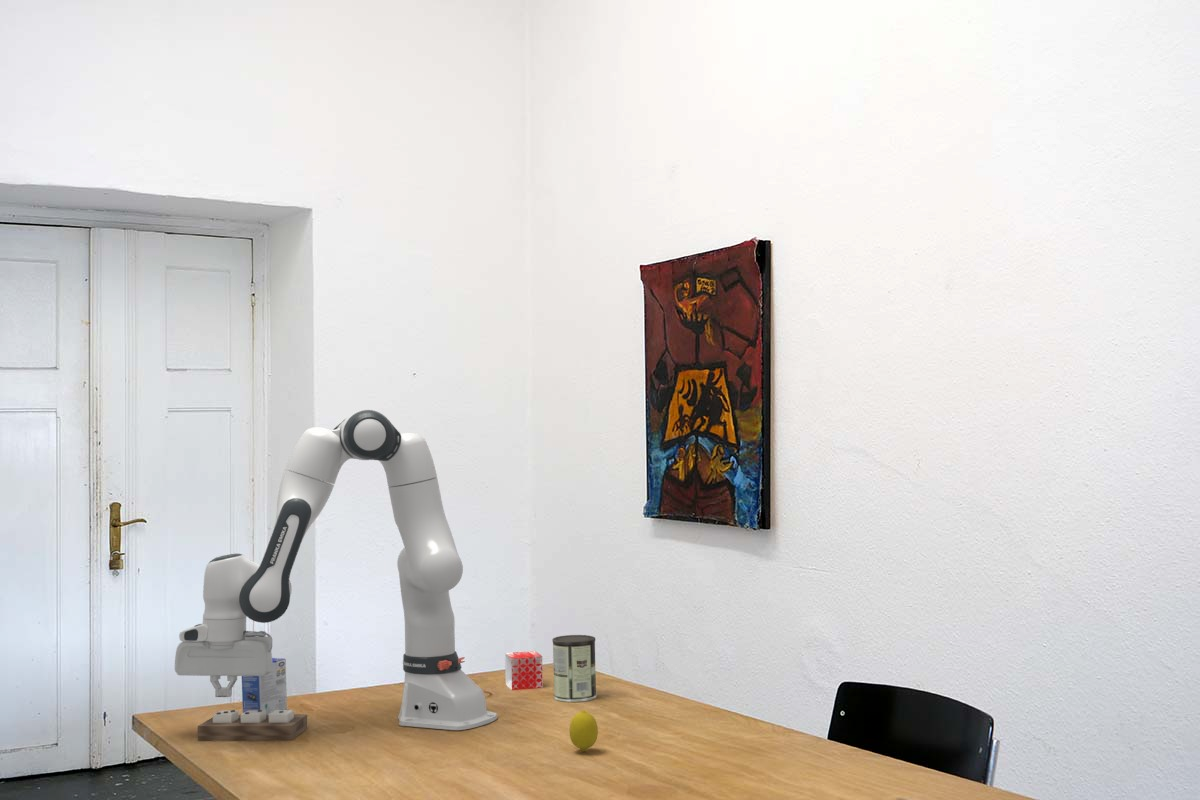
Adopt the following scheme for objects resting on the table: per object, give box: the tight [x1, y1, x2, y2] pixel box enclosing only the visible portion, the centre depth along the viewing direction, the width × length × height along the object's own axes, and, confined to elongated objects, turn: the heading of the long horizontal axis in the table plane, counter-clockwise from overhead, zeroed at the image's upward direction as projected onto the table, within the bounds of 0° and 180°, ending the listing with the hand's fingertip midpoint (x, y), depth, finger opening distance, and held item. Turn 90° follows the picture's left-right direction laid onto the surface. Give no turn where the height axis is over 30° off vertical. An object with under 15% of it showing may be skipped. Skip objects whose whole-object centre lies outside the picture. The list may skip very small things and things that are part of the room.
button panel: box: [197, 713, 308, 742], centre depth 237 cm, size 20×10×3 cm, turn 87°
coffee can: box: [551, 634, 597, 703], centre depth 267 cm, size 10×10×14 cm
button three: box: [212, 709, 240, 723], centre depth 237 cm, size 4×4×3 cm
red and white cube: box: [504, 650, 544, 691], centre depth 281 cm, size 8×8×8 cm
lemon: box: [569, 709, 599, 753], centre depth 218 cm, size 6×6×8 cm
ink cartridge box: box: [241, 657, 288, 715], centre depth 254 cm, size 10×6×14 cm, turn 159°
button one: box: [269, 709, 295, 723], centre depth 236 cm, size 4×4×3 cm
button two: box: [240, 710, 266, 723], centre depth 237 cm, size 4×4×3 cm
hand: (223, 696), depth 237 cm, fingers closed
